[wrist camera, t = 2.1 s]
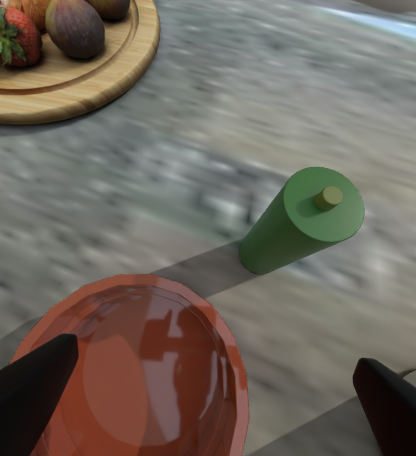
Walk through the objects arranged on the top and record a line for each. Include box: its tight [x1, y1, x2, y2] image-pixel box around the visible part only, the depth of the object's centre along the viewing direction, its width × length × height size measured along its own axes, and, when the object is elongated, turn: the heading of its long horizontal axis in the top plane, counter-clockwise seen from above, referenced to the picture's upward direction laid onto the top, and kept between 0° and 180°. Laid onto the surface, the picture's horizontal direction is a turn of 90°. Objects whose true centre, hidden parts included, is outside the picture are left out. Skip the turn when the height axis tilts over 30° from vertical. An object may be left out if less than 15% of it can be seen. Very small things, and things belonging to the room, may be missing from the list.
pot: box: [10, 274, 249, 456], centre depth 17 cm, size 16×16×6 cm
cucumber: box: [239, 167, 364, 274], centre depth 17 cm, size 4×4×13 cm
